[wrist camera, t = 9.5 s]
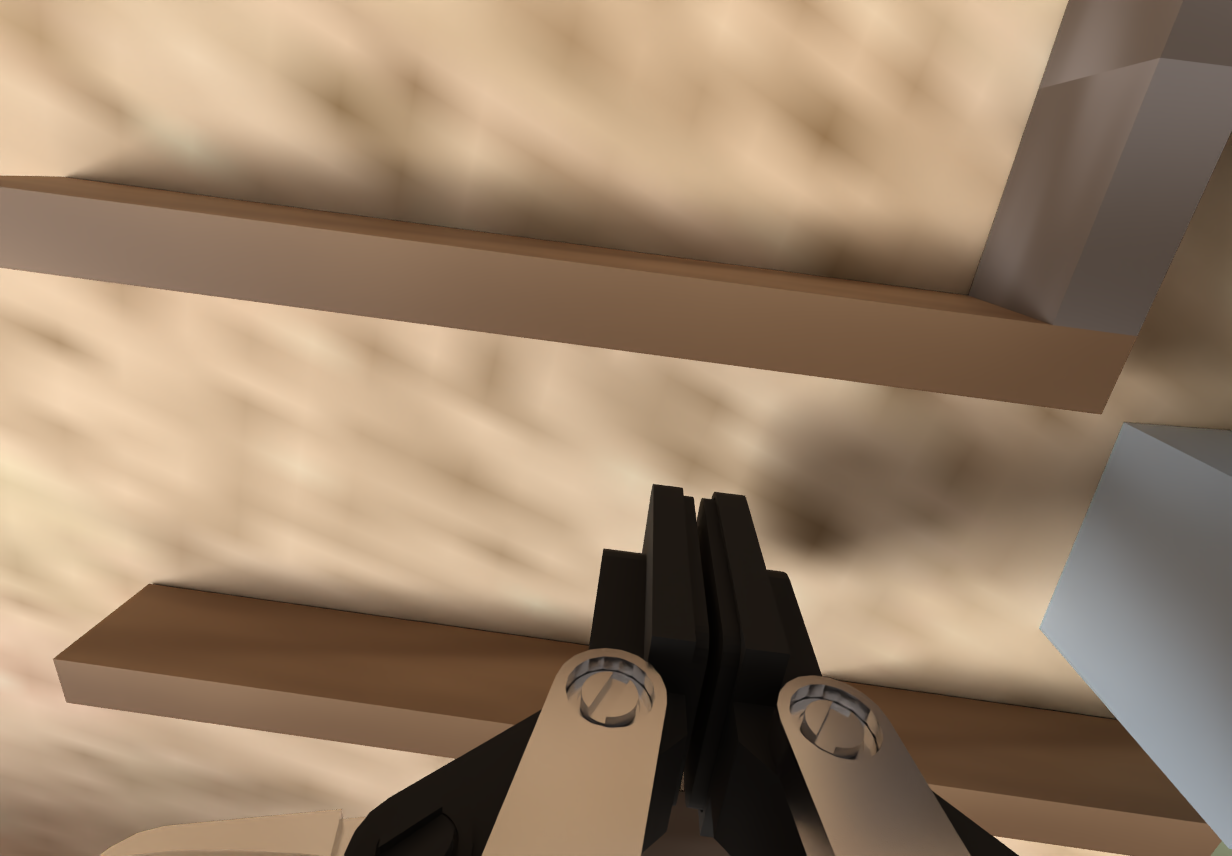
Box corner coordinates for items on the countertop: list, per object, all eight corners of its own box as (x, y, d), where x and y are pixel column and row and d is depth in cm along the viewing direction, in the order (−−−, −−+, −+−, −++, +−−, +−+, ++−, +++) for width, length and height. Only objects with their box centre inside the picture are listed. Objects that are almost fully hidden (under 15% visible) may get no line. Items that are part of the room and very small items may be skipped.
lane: (-6, -133, 9) (-225, -239, 7) (2037, 119, 9) (2521, 95, 7) (185, 750, 17) (109, 841, 14) (1310, 913, 16) (1418, 1034, 14)
